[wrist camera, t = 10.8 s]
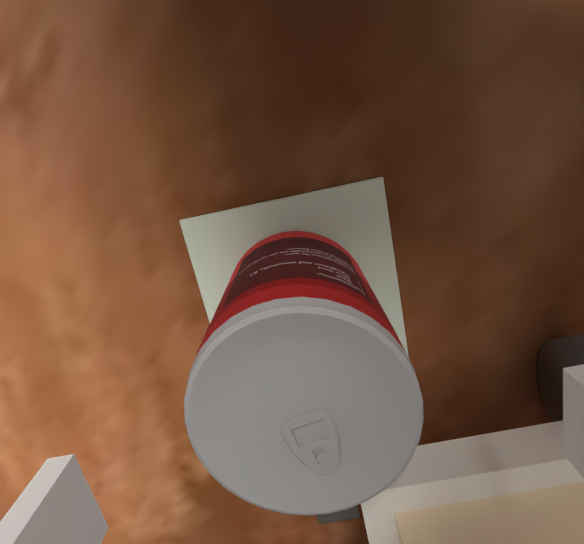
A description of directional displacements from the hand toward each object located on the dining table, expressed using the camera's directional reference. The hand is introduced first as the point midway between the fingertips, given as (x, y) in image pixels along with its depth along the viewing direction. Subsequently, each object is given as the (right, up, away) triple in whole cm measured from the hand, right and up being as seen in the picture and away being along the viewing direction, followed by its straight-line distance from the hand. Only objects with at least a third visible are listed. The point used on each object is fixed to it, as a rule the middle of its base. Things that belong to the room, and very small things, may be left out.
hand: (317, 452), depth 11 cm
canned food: (0, +4, +12) cm, 13 cm away
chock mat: (0, +4, +13) cm, 13 cm away
